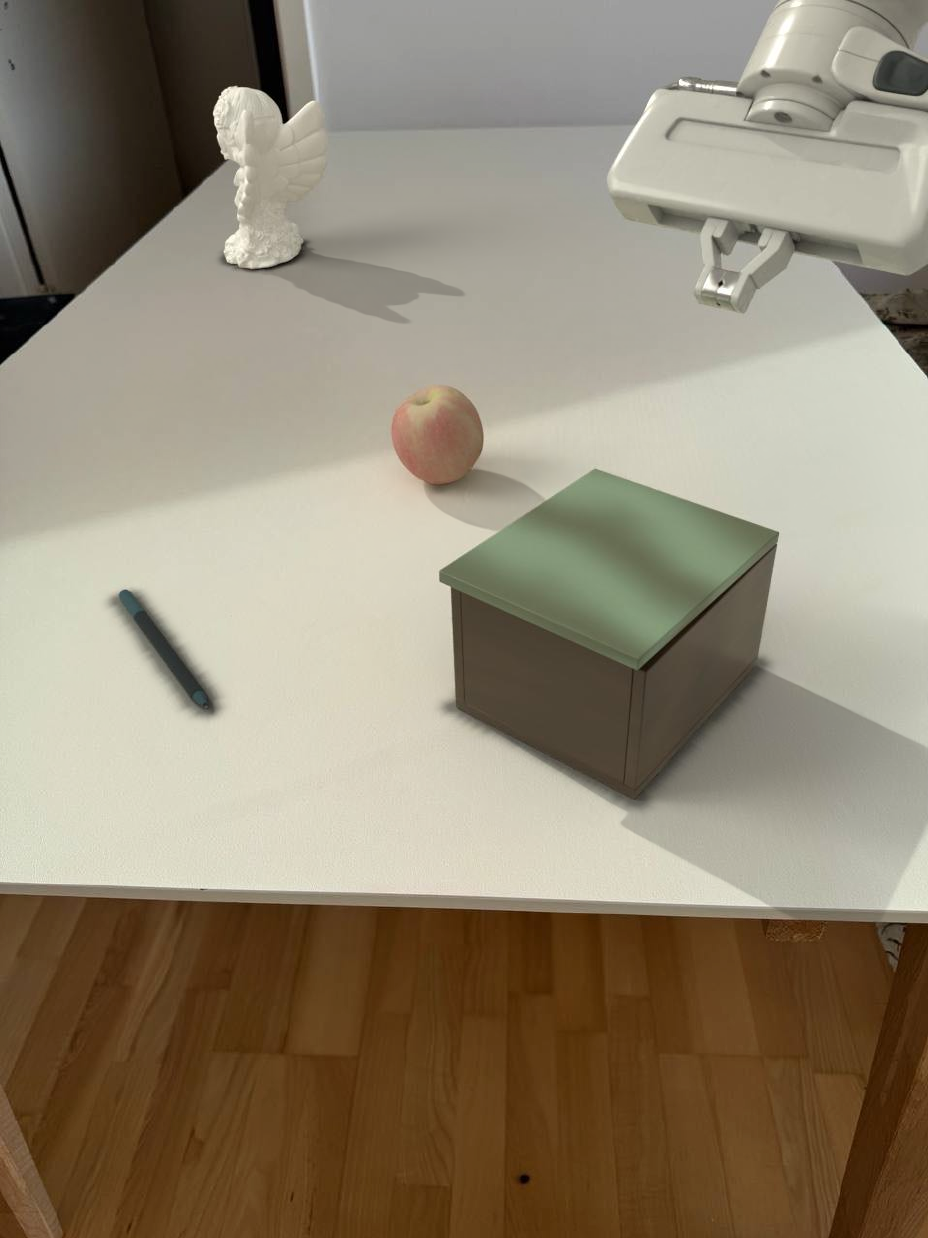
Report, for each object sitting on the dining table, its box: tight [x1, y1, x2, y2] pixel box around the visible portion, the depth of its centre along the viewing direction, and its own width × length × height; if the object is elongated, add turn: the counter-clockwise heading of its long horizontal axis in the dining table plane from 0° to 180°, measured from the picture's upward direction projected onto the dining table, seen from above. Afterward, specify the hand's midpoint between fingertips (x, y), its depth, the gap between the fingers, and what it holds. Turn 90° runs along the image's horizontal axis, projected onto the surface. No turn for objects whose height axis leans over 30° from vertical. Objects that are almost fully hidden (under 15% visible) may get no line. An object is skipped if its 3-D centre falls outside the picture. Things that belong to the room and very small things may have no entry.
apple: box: [390, 384, 485, 485], centre depth 93 cm, size 8×8×8 cm
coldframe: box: [450, 543, 778, 800], centre depth 70 cm, size 16×14×10 cm
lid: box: [438, 468, 780, 670], centre depth 66 cm, size 17×14×1 cm
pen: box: [118, 589, 209, 709], centre depth 77 cm, size 1×16×1 cm, turn 34°
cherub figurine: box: [212, 85, 330, 270], centre depth 137 cm, size 13×12×20 cm
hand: (718, 304), depth 65 cm, fingers closed
